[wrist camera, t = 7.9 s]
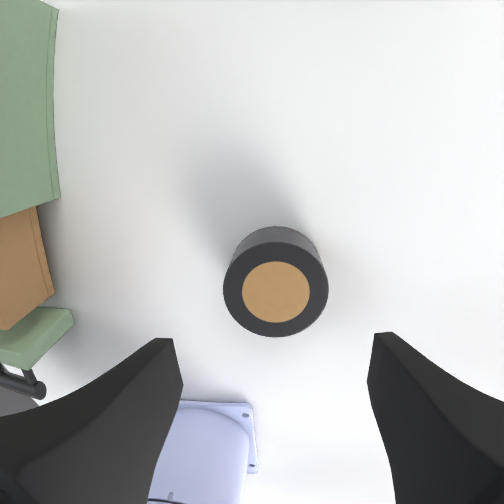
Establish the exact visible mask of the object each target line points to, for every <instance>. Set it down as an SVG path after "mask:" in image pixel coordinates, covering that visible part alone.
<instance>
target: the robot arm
mask: <svg viewBox="0 0 504 504" xmlns="http://www.w3.org/2000/svg"><path fill="white" fill-rule="evenodd" d="M367 385H368V390H369V396H370V401H371V406H372V409H373V412H374V415H375V418H376V421H377V424H378V427H379V430H380V434H381V437H382V440H383V443H384V446H385V449H386V452H387V455H388V459H389V463H390V467H391V472H392V478H393V485H394V491H395V500H396V504H504V402H503V401H500V400H498V399H495V398H493V397H491V396H488V395H486V394H484V393H482V392H480V391H478V390H476V389H474V388H472V387H471V386H469V385H467V384H465V383H463V382H462V381H460V380H458V379H457V378H455V377H453V376H452V375H450V374H449V373H447V372H446V371H444V370H443V369H441V368H440V367H438V366H437V365H436V364H434V363H433V362H431V361H430V360H429V359H427V358H426V357H425V356H423V355H422V354H421V353H419V352H418V351H417V350H416V349H414V348H413V347H412V346H410V345H409V344H408V343H407V342H405V341H404V340H403V339H401V338H400V337H399V336H397V335H396V334H395V333H393V332H384V333H375V334H374V341H373V347H372V354H371V360H370V366H369V372H368V377H367ZM182 388H183V381H182V377H181V373H180V369H179V365H178V361H177V357H176V352H175V348H174V343H173V339H172V338H155V339H153V340H151V341H150V342H148V343H147V344H145V345H144V346H143V347H141V348H140V349H139V350H137V351H136V352H134V353H133V354H132V355H130V356H129V357H128V358H126V359H125V360H123V361H122V362H121V363H119V364H118V365H116V366H115V367H114V368H112V369H110V370H109V371H107V372H106V373H104V374H103V375H101V376H100V377H98V378H97V379H95V380H93V381H92V382H90V383H89V384H87V385H85V386H83V387H82V388H80V389H78V390H76V391H74V392H72V393H70V394H68V395H66V396H64V397H62V398H59V399H57V400H54V401H52V402H49V403H47V404H44V405H42V406H39V407H36V408H34V409H30V410H27V411H24V412H20V413H16V414H12V415H7V416H2V417H0V504H243V500H244V492H245V484H246V475H247V473H251V474H254V473H257V472H258V469H259V468H258V459H257V449H256V439H255V430H254V420H253V410H252V406H251V405H250V404H247V403H222V402H202V401H188V400H180V398H181V393H182ZM244 413H247V414H244Z"/></svg>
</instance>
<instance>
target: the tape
mask: <svg viewBox="0 0 504 504" xmlns="http://www.w3.org/2000/svg"><path fill="white" fill-rule="evenodd" d="M328 292H329V288H328V280H327V276H326V273H325V270H324V268H323V265H322V262H321V259H320V257H319V254H318V252H317V250H316V248H315V246H314V245H313V244H312V242H311V241H310V240H309V239H308V238H307V237H305V236H304V235H303V234H301V233H299V232H298V231H295V230H293V229H290V228H287V227H277V226H274V227H266V228H262V229H260V230H257V231H255V232H253V233H251V234H250V235H248V236H247V237H246V238H245V239H244V240H243V241H242V242H241V243H240V244H239V246H238V247H237V249H236V251H235V253H234V255H233V258H232V260H231V263H230V265H229V268H228V270H227V273H226V275H225V279H224V284H223V295H224V300H225V303H226V306H227V308H228V310H229V312H230V314H231V315H232V317H233V318H234V319H235V320H236V321H237V322H238V323H239V324H240V325H241V326H243V327H244V328H246V329H247V330H249V331H251V332H253V333H255V334H258V335H262V336H266V337H285V336H290V335H293V334H296V333H299V332H301V331H303V330H305V329H306V328H308V327H309V326H310V325H312V324H313V323H314V322H315V321H316V320H317V319H318V317H319V316H320V315H321V313H322V311H323V310H324V308H325V305H326V303H327V299H328Z"/></svg>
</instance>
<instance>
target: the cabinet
mask: <svg viewBox="0 0 504 504" xmlns="http://www.w3.org/2000/svg"><path fill="white" fill-rule="evenodd" d="M57 17H58V9H56V8H54V7H52V6H50V5H48V4H46V3H44V2H42V1H40V0H0V218H2V217H5V216H8V215H10V214H13V213H16V212H19V211H22V210H25V209H28V208H31V207H34V206H37V205H40V204H43V203H46V202H49V201H52V200H56V199H59V198H60V197H61V196H60V189H59V181H58V172H57V162H56V151H55V137H54V116H53V70H54V50H55V37H56V26H57Z"/></svg>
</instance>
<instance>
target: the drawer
mask: <svg viewBox="0 0 504 504" xmlns="http://www.w3.org/2000/svg"><path fill="white" fill-rule="evenodd" d="M54 293H55V290H54V287H53V283H52V279H51V276H50V272H49V268H48V264H47V259H46V255H45V251H44V246H43V241H42V236H41V231H40V226H39V221H38V215H37V209H36V206H34V207H31V208H28V209H25V210H22V211H19V212H16V213H13V214H10V215H8V216H5V217H2V218H0V386H1V387H3V388H6V389H9V390H12V391H14V392H17V393H20V394H23V395H26V396H29V397H32V398H35V399H38V400H42V399H44V398H45V396H46V386H45V384H44V383H43V382H41V381H37V379H36V377H35V375H34V373H33V371H32V369H31V368H32V367H33V366H34V365H35V363H36V362H37V361H38V360H39V359H40V358H41V357H42V356H43V355H44V354H45V353H46V352H47V351H48V350H49V349H50V348H51V347H52V346H53V345H54V344H55V343H56V342H57V341H58V340H59V339H60V338H61V337H62V336H63V335H64V334H65V333H66V332H67V331H68V330H69V329H70V328H71V327H72V326H73V325H74V320H73V317H72V314H71V311H70V309H58V308H45V307H37V306H39V305H40V304H41V303H43V302H44V301H45V300H46V299H48V298H49V297H50V296H52V295H53V294H54ZM1 363H3V364H6V365H9V366H13V367H16V368H20V369H21V370H22V372H23V374H24V376H25V377H23V376H20V375H16V374H13V373H10V372H7V371H5V370H4V368H3V366H2V364H1Z"/></svg>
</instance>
